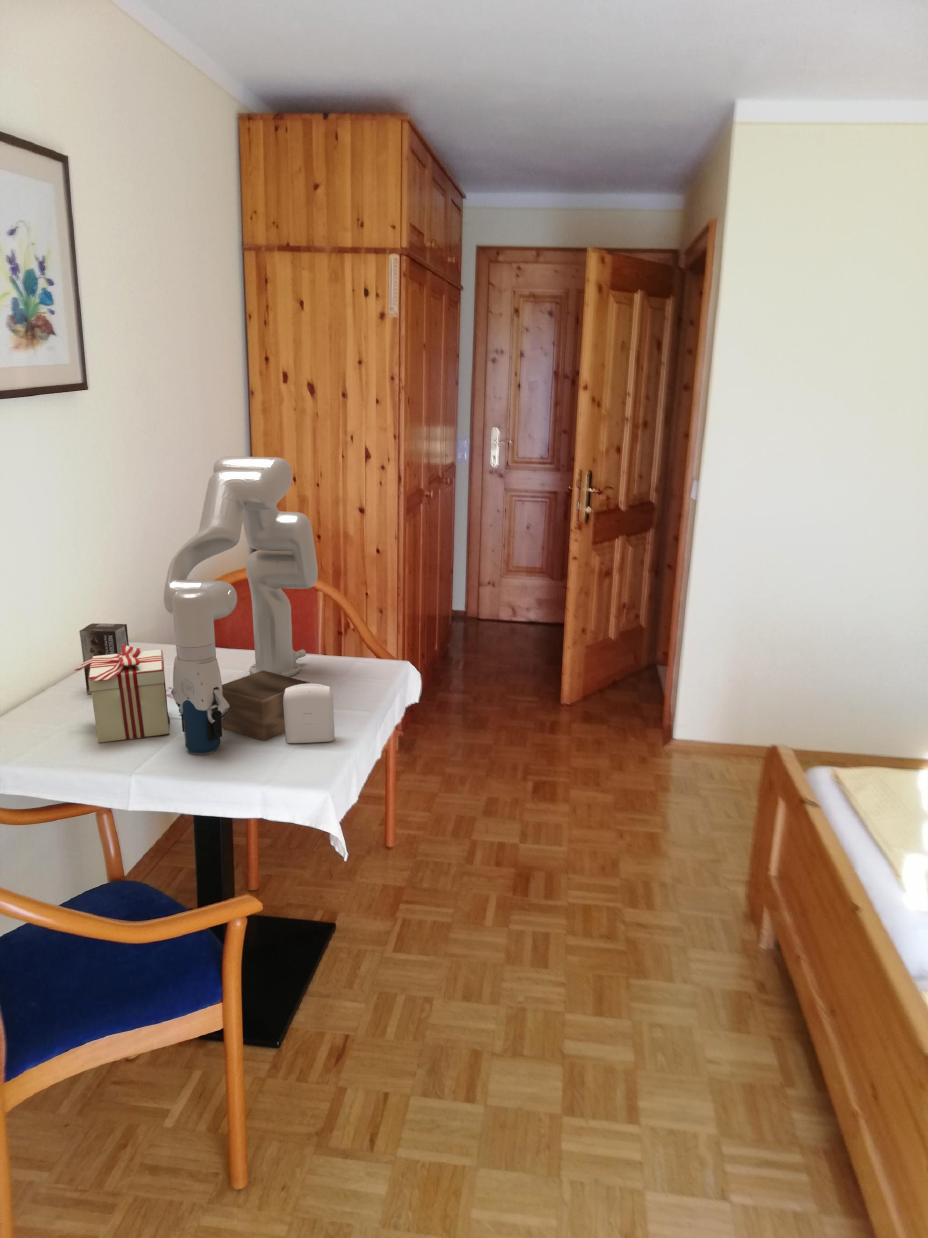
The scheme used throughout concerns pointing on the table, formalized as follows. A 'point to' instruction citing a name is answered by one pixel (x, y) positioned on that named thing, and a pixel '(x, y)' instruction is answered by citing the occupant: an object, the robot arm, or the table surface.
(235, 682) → the walnut box
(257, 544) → the robot arm
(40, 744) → the table surface
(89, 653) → the coffee box
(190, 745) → the soda can
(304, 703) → the photo printer
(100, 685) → the gift box
